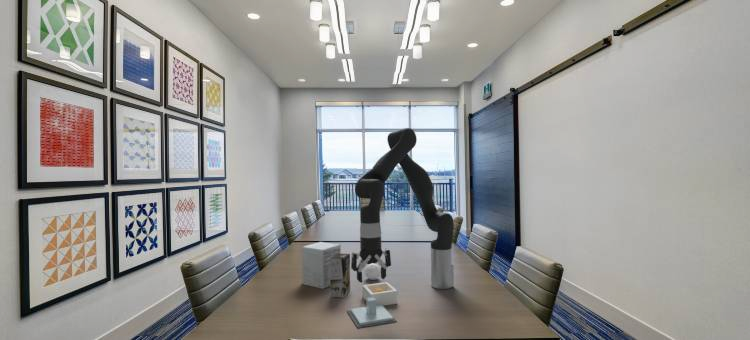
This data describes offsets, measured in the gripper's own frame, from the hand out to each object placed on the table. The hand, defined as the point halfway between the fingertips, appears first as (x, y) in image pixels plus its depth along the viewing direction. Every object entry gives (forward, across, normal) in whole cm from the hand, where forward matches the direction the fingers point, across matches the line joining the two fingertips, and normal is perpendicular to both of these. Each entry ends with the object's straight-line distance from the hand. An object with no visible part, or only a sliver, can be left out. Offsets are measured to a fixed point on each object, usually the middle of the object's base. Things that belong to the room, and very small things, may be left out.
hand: (371, 280), depth 118 cm
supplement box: (+13, +10, -43) cm, 46 cm away
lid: (+13, 0, 0) cm, 13 cm away
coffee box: (+13, +5, -26) cm, 30 cm away
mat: (+13, 0, 0) cm, 13 cm away
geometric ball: (+14, -14, -39) cm, 44 cm away
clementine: (+10, -8, -13) cm, 18 cm away
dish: (+13, -8, -13) cm, 20 cm away
